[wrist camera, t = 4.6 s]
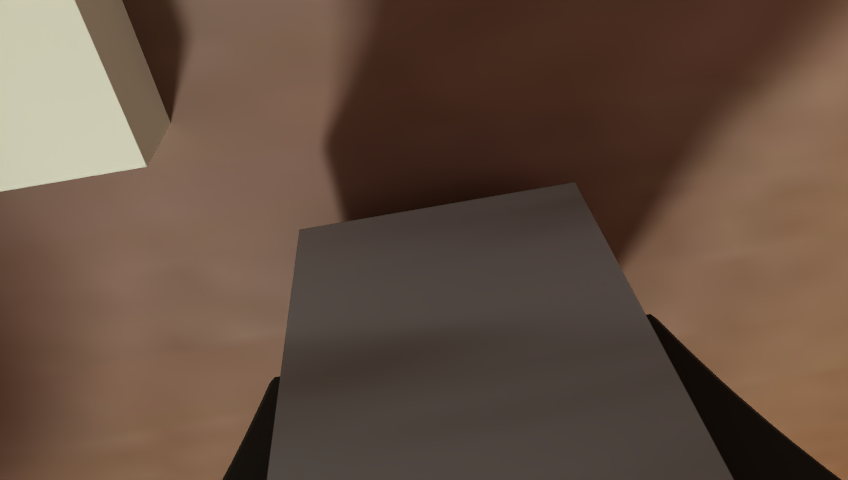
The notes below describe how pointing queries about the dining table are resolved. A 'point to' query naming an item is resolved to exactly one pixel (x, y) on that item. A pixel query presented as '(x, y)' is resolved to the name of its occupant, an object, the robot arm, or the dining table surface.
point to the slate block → (477, 353)
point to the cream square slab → (73, 93)
